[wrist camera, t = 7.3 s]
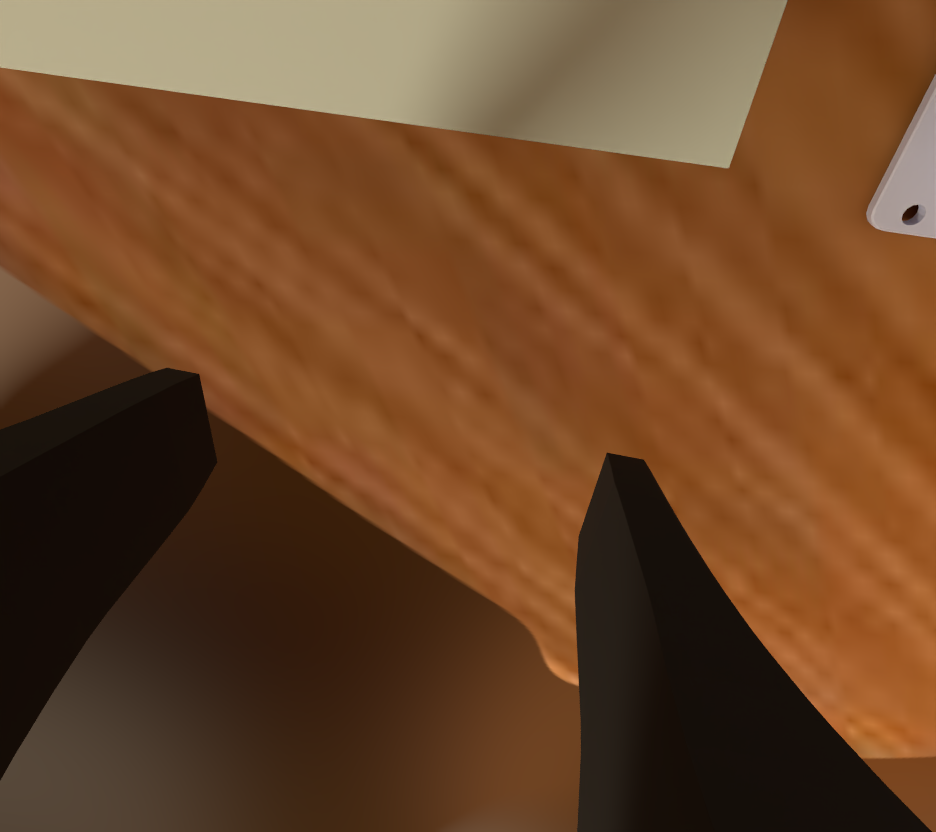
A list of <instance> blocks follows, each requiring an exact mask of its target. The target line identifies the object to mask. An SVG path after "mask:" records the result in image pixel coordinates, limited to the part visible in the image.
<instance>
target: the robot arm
mask: <svg viewBox="0 0 936 832" xmlns="http://www.w3.org/2000/svg"><path fill="white" fill-rule="evenodd" d="M913 205H918V206H919V208H918V212H917V213H916V214H915V216H914V217H913V218H911V219H909V220H907V221H902V216H903V213H904V212H905V211H906V210H907V208H909V207H911V206H913ZM866 215H867V220H868V221H869V223H870V224H871V225H872V226H874V227H875V228H877V229H879V230H882V231H888V232H895V233H902V234H909V235H916V236H923V237H929V238H936V74H935V76H934V78H933V80H932V82H931V84H930V86H929V88H928V90H927V92H926V94H925V96H924V98H923V100H922V102H921V104H920V106H919V108H918V110H917V112H916V114H915V116H914V117H913V119H912V121H911V123H910V125H909V127H908V129H907V131H906V133H905V135H904V137H903V139H902V141H901V143H900V145H899V147H898V149H897V151H896V153H895V155H894V157H893V159H892V161H891V163H890V165H889V167H888V169H887V171H886V173H885V175H884V177H883V179H882V180H881V182H880V184H879V186H878V188H877V190H876V192H875V194H874V196H873V198H872V200H871V202H870V204H869V206H868V210H867V213H866ZM216 463H217V458H216V453H215V449H214V444H213V439H212V434H211V429H210V424H209V420H208V415H207V410H206V405H205V400H204V395H203V391H202V386H201V381H200V376H199V374H196V373H191V372H186V371H181V370H175V369H170V368H165V369H161V370H158V371H155V372H151V373H148V374H146V375H143V376H140V377H137V378H134V379H131V380H129V381H126V382H123V383H121V384H118V385H116V386H113V387H110V388H108V389H105V390H103V391H100V392H98V393H95V394H93V395H90V396H87V397H85V398H83V399H80V400H77V401H75V402H72V403H70V404H67V405H64V406H62V407H59V408H57V409H54V410H52V411H49V412H46V413H44V414H41V415H39V416H36V417H34V418H31V419H29V420H26V421H23V422H21V423H17V424H15V425H12V426H9V427H6V428H4V429H1V430H0V780H1V778H2V777H3V775H4V773H5V771H6V769H7V768H8V766H9V764H10V762H11V761H12V759H13V757H14V755H15V754H16V752H17V750H18V749H19V747H20V745H21V744H22V742H23V741H24V739H25V737H26V736H27V734H28V732H29V731H30V729H31V727H32V726H33V724H34V723H35V721H36V719H37V717H38V716H39V714H40V713H41V711H42V709H43V708H44V706H45V705H46V703H47V701H48V700H49V698H50V696H51V695H52V693H53V692H54V690H55V688H56V687H57V685H58V684H59V682H60V681H61V679H62V678H63V676H64V675H65V673H66V671H67V670H68V669H69V667H70V665H71V664H72V662H73V661H74V659H75V658H76V656H77V655H78V653H79V652H80V650H81V649H82V647H83V646H84V644H85V642H86V641H87V639H88V638H89V637H90V635H91V634H92V633H93V631H94V630H95V629H96V627H97V626H98V624H99V623H100V622H101V620H102V619H103V618H104V616H105V615H106V614H107V612H108V611H109V610H110V609H111V607H112V606H113V605H114V604H115V602H116V601H117V600H118V598H119V597H120V596H121V595H122V594H123V592H124V591H125V590H126V589H127V587H128V586H129V585H130V584H131V582H132V581H133V580H134V578H135V577H136V576H137V575H138V574H139V572H140V571H141V570H142V569H143V567H144V566H145V565H146V564H147V563H148V561H149V560H150V559H151V558H152V556H153V555H154V554H155V553H156V551H157V550H158V549H159V548H160V546H161V545H162V544H163V543H164V541H165V540H166V539H167V538H168V536H169V535H170V534H171V532H172V531H173V530H174V528H175V527H176V526H177V525H178V523H179V522H180V521H181V520H182V518H183V517H184V516H185V514H186V513H187V512H188V511H189V509H190V507H191V506H192V505H193V503H194V501H195V500H196V498H197V496H198V495H199V493H200V492H201V490H202V488H203V487H204V485H205V483H206V481H207V479H208V478H209V476H210V474H211V472H212V471H213V469H214V467H215V465H216ZM575 607H576V630H577V652H578V673H579V693H580V715H581V764H580V787H579V808H578V828H577V832H932V831H931V830H930V829H929V828H928V827H926V825H925V824H924V823H923V822H922V821H921V820H920V819H919V818H918V817H917V816H916V815H915V814H914V813H913V812H912V811H911V810H910V809H909V808H908V807H907V806H906V805H905V804H904V803H903V802H902V801H901V800H900V799H899V798H898V797H897V796H896V795H895V794H894V793H893V792H892V791H891V790H890V789H889V788H888V787H887V786H886V785H885V784H884V782H882V781H881V779H880V778H879V777H878V776H877V775H876V774H875V773H874V772H873V771H872V770H871V769H870V767H869V766H868V765H867V764H866V763H865V762H864V761H863V760H862V759H861V758H860V757H859V756H858V754H857V753H856V752H855V751H854V750H853V749H852V748H851V747H850V746H849V745H848V744H847V743H846V741H845V740H844V739H843V738H842V737H841V736H840V735H839V734H838V733H837V732H836V731H835V730H834V729H833V727H832V726H831V725H830V724H829V723H828V722H827V721H826V719H825V718H824V717H823V716H822V715H821V714H820V713H819V712H818V710H817V709H816V708H815V707H814V706H813V705H812V704H811V702H810V701H809V700H808V699H807V698H806V697H805V695H804V694H803V693H802V692H801V691H800V689H799V688H798V687H797V686H796V684H795V683H794V682H793V681H792V680H791V678H790V677H789V676H788V675H787V673H786V672H785V671H784V670H783V669H782V667H781V666H780V665H779V664H778V663H777V661H776V660H775V659H774V658H773V656H772V655H771V654H770V653H769V652H768V650H767V649H766V648H765V646H764V645H763V644H762V643H761V641H760V640H759V639H758V637H757V636H756V635H755V634H754V632H753V631H752V630H751V628H750V627H749V626H748V624H747V623H746V621H745V620H744V619H743V617H742V616H741V614H740V613H739V612H738V610H737V609H736V607H735V606H734V605H733V603H732V602H731V600H730V599H729V598H728V596H727V595H726V593H725V592H724V590H723V589H722V587H721V586H720V584H719V583H718V581H717V580H716V578H715V577H714V576H713V574H712V573H711V571H710V569H709V568H708V566H707V565H706V563H705V562H704V560H703V558H702V557H701V555H700V554H699V552H698V551H697V549H696V547H695V546H694V544H693V543H692V541H691V540H690V538H689V536H688V535H687V533H686V531H685V530H684V528H683V526H682V525H681V523H680V521H679V520H678V518H677V516H676V514H675V513H674V511H673V509H672V508H671V506H670V504H669V502H668V501H667V499H666V497H665V495H664V494H663V492H662V490H661V488H660V487H659V485H658V483H657V481H656V480H655V478H654V476H653V474H652V472H651V471H650V469H649V467H648V466H647V464H646V463H645V461H644V460H642V459H637V458H632V457H627V456H621V455H616V454H611V453H607V454H606V457H605V460H604V463H603V466H602V469H601V472H600V475H599V478H598V481H597V484H596V487H595V490H594V493H593V496H592V499H591V502H590V505H589V507H588V510H587V513H586V516H585V519H584V522H583V525H582V528H581V531H580V534H579V541H578V553H577V566H576V581H575Z"/></svg>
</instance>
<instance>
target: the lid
mask: <svg viewBox="0 0 936 832" xmlns="http://www.w3.org/2000/svg"><path fill="white" fill-rule="evenodd" d="M786 3H787V0H0V67H1V68H9V69H16V70H23V71H30V72H37V73H45V74H52V75H59V76H66V77H73V78H81V79H88V80H95V81H102V82H110V83H117V84H124V85H131V86H138V87H146V88H153V89H160V90H167V91H174V92H182V93H189V94H196V95H203V96H211V97H218V98H225V99H232V100H239V101H247V102H254V103H261V104H268V105H275V106H283V107H290V108H297V109H304V110H312V111H319V112H326V113H333V114H340V115H348V116H355V117H362V118H369V119H376V120H384V121H391V122H398V123H405V124H413V125H420V126H427V127H434V128H441V129H449V130H456V131H463V132H470V133H478V134H485V135H492V136H499V137H506V138H514V139H521V140H528V141H535V142H542V143H550V144H557V145H564V146H571V147H579V148H586V149H593V150H600V151H607V152H615V153H622V154H629V155H636V156H643V157H651V158H658V159H665V160H672V161H680V162H687V163H694V164H701V165H708V166H716V167H723V168H729V166H730V163H731V160H732V157H733V155H734V152H735V149H736V146H737V143H738V140H739V137H740V135H741V132H742V129H743V126H744V123H745V120H746V117H747V115H748V112H749V109H750V106H751V103H752V100H753V97H754V95H755V92H756V89H757V86H758V83H759V80H760V77H761V75H762V72H763V69H764V66H765V63H766V60H767V57H768V55H769V52H770V49H771V46H772V43H773V40H774V37H775V35H776V32H777V29H778V26H779V23H780V20H781V17H782V15H783V12H784V9H785V6H786Z"/></svg>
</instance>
